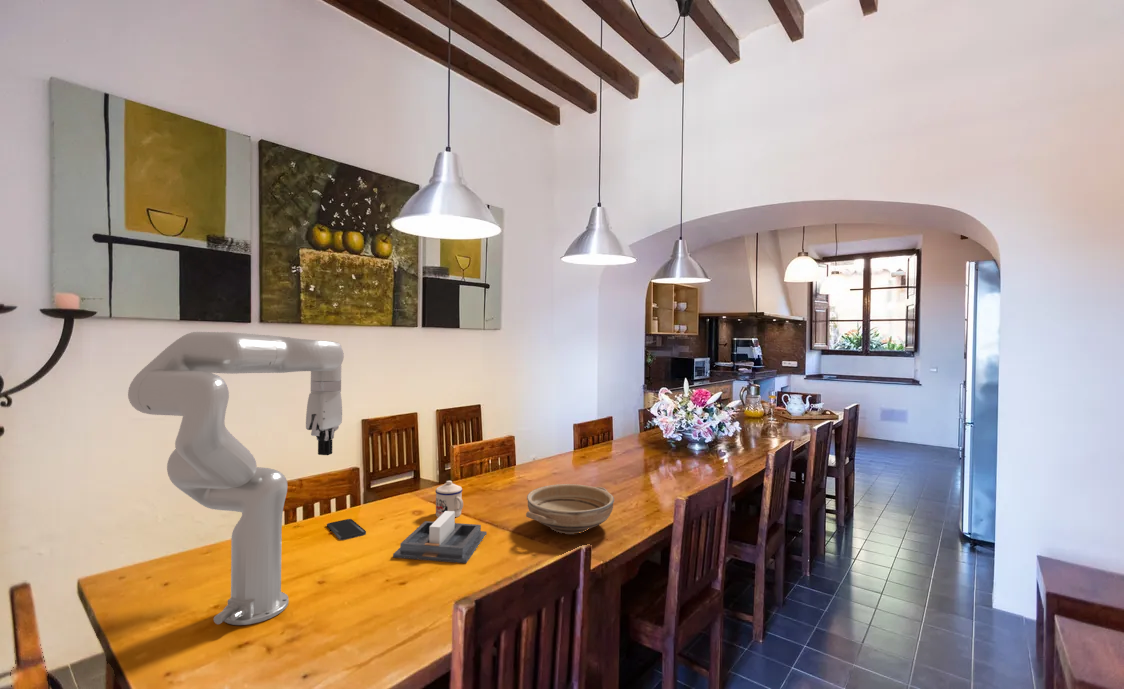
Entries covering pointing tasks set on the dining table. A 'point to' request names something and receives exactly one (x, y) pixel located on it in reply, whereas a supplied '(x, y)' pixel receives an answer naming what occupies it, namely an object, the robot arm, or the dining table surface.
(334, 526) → the phone
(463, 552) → the rack
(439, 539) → the panel
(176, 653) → the dining table surface
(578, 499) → the ceramic bowl
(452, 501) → the teacup with lid
